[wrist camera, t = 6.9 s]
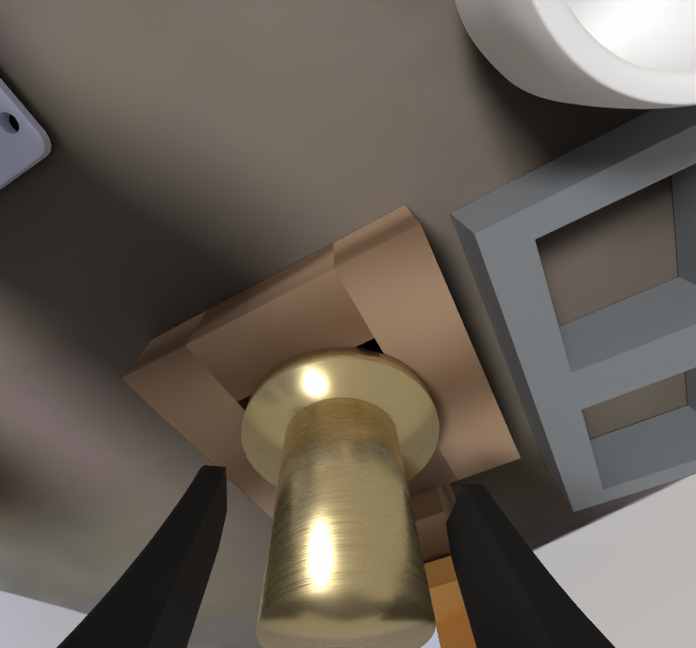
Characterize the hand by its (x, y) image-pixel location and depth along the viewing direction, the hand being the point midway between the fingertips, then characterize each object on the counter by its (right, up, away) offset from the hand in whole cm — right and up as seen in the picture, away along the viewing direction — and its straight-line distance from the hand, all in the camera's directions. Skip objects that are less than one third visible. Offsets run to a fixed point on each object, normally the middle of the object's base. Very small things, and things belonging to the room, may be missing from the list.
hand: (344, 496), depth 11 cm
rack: (+11, +5, +4) cm, 13 cm away
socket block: (+1, +1, +6) cm, 6 cm away
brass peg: (0, +3, +5) cm, 6 cm away
